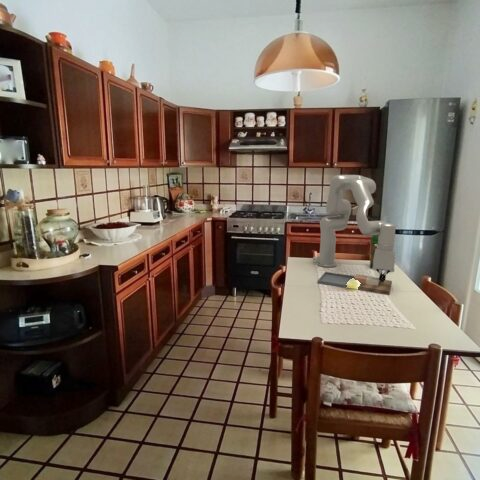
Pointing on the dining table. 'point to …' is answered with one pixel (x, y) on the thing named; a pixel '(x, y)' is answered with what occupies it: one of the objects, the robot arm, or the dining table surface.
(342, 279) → the box
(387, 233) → the robot arm
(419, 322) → the dining table surface
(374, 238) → the bottle
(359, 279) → the terracotta tile
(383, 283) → the walnut board
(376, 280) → the cream tile
